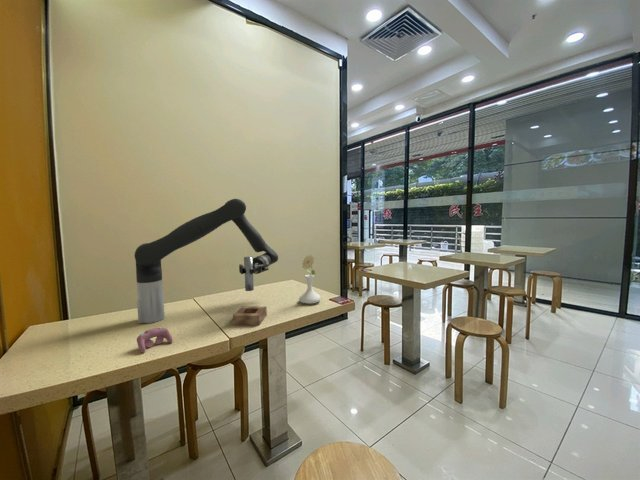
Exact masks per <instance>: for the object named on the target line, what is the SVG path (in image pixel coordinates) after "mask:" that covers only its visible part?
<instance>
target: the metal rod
mask: <svg viewBox="0 0 640 480" xmlns="http://www.w3.org/2000/svg"><path fill="white" fill-rule="evenodd" d="M253 258H254V256H243V266H244V272H245V273H244V290H245V291H246V292H252V291H254V290H255V289H254V288H255V286H254V285H255V284H254V283H255V282H254V273H253V274H250V269H251V268H253Z"/></svg>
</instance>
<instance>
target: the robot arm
mask: <svg viewBox="0 0 640 480" xmlns="http://www.w3.org/2000/svg"><path fill="white" fill-rule="evenodd" d="M246 211H247V205H246V202H245V201H243V200H242V199H239V198H232V199H230V200H227V201H226V202H225V203H224V205H222V206H220V207H219V208H217V209H215V210H212V211H211V212H208V213H204V214H202V215H199V216H197V217H194V218H192V219H190V220H188V221H186V222H184V223H183V224H181V225H179V226H178V227H176V228H175V229H173V230H172V231H170V232H169V233H168V234H166V235H164V236H162V237H161V238H158V239H156V240H154V241H150V242H146V243H141V244H139V246H137V248H136V249H135V252H134V260H135V276H136V288H137V290H136V291H137V301H136V304H137V305H136V306H137V320H138V324H150V323H151V324H152V323H156V322H159V321H162V320H163V319H165V318H166V317H165V315H166V314H165V299H164V285H163V282H164V281H163V269H162V260H163V259H164V258H165V257H167V256H169V255H170V254H172V253H174V252H175V251H177V250H179V249H182V248H184V247H186V246H188V245H190V244H192V243H194V242H196V241H198V240H201V239H202V238H204V237H206V236H207V235H209V234H211V233H212V232H213V231H215V230H216V229H217V228H220V227H221V226H222V225H224V224H226V223H228V222H230V221H232V222H233V223H234V224H235V225H236V227H237V228H238V229H239V230H240V231H241V233H242V234H243V236H244V237H245V239H246V240H247V242H248V244H249V245H250V246H251V248H252V249H253V251H254V252H255V253H261V252H265V253H263V254H262V253H261V254H260V255H257V256H255V257H253V268H251V269H250V274H253V275H254V274H255V275H257V274H261V273H264V272H266V271H269V267H270V266H272V265H273V264H275V263H277V262H278V261H279V255H278V253H277V252H276V251H275V249H272V248H271V247H270V246H269V244H267V242H266V241H265V240H264V238H263V236H262V235H261V234H260V232H259V231H258V230H257V229H256V228H255V226H253V225H252V223H251V222H250V221H249V220H248V219H247V216H246V214H245V213H246ZM238 270H239V274H240V275H245V272H244V264H242V263H241V264H239V265H238Z"/></svg>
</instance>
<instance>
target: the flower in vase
mask: <svg viewBox="0 0 640 480" xmlns="http://www.w3.org/2000/svg"><path fill="white" fill-rule="evenodd" d="M314 261H315V257H314V256H313V255H312V254H310V255H309V254H308V255H306V256H305V257H304V258H303V260H302V263H301V264H302V266H301V267H302V268H303V269H304V270H305V271H306V272H307V273H309V274H305V275H304V277H305V279H306V283H307V287H306V288H307V289H306V290H305V292H303V293H302V294H301V295H300V296H299V298H298V301H299V302H301V303H302V304H306V305H307V304H308V305H309V304H310V305H311V304H316V303H318V302H320V301H321V300H322V298H321V295H320V294H318V293H317V292H315V290H314V289H313V279H314V277H315V275H316V271H315V269H313V267H312V266H313V264H314V263H315V262H314ZM309 269H312V270H311V271H310V270H309Z"/></svg>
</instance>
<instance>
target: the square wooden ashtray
mask: <svg viewBox="0 0 640 480" xmlns="http://www.w3.org/2000/svg"><path fill="white" fill-rule="evenodd" d="M267 311H268V309H267V306H253V305H252V306H248V305H247V306H245V305H244V306H241V307H239V309H238V310H236V311H235V313H233V314H232V325H233V326H260V325H261V324H262V323H263V321H264V319H266V317H267V316H268V315H267V313H268V312H267Z"/></svg>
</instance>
